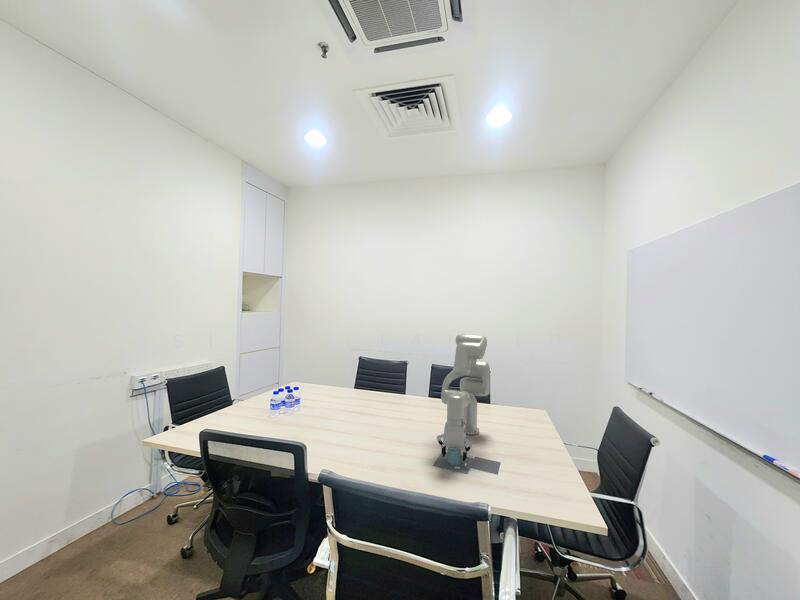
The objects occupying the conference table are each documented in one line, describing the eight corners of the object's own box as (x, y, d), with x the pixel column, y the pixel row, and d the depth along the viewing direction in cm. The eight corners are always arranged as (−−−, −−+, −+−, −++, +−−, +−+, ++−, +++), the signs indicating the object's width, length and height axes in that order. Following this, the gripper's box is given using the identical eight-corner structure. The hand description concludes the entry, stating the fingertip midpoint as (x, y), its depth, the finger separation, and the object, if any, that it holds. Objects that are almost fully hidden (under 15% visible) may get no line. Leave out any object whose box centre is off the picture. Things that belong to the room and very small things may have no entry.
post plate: (442, 452, 157) (442, 442, 157) (474, 459, 150) (474, 449, 151) (432, 466, 142) (432, 456, 143) (467, 475, 136) (467, 464, 136)
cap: (446, 463, 145) (446, 449, 145) (449, 457, 150) (449, 444, 151) (458, 466, 143) (459, 452, 143) (461, 460, 148) (462, 447, 148)
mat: (475, 457, 152) (475, 456, 152) (500, 463, 147) (500, 462, 147) (470, 469, 141) (470, 467, 141) (497, 475, 136) (497, 474, 136)
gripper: (474, 421, 147) (474, 458, 146) (439, 415, 154) (438, 450, 154) (471, 427, 140) (470, 465, 140) (434, 420, 147) (434, 457, 147)
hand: (454, 457), depth 147 cm, fingers open, 9 cm apart
